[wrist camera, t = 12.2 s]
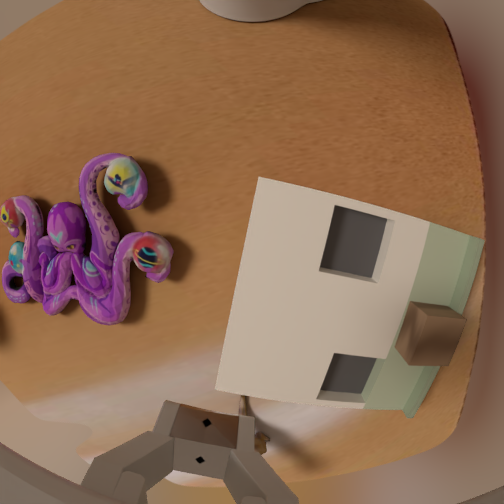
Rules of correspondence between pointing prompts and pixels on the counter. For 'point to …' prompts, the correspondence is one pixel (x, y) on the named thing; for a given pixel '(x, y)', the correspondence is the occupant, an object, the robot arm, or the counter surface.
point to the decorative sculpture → (83, 246)
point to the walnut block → (429, 334)
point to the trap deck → (336, 299)
